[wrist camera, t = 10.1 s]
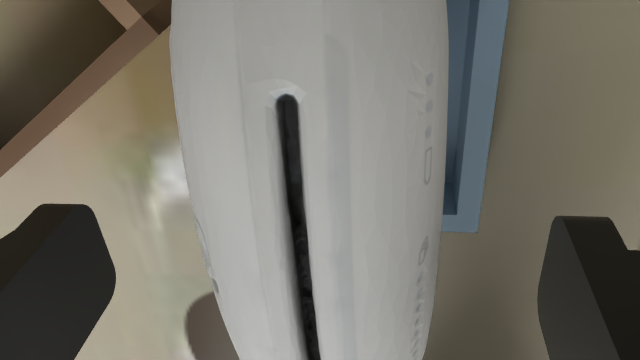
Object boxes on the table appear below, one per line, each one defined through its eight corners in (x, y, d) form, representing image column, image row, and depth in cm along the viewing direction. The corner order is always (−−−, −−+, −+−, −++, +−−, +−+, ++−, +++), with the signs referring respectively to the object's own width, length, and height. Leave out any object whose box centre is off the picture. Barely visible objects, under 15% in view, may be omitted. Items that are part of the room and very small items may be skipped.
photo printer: (418, 159, 20) (434, 503, 10) (308, 157, 21) (220, 481, 11) (433, -159, 14) (504, -84, 4) (279, -149, 15) (33, -60, 5)
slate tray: (470, 192, 21) (477, 232, 19) (263, 188, 23) (249, 225, 21) (524, -256, 13) (545, -267, 11) (200, -226, 15) (167, -231, 13)
